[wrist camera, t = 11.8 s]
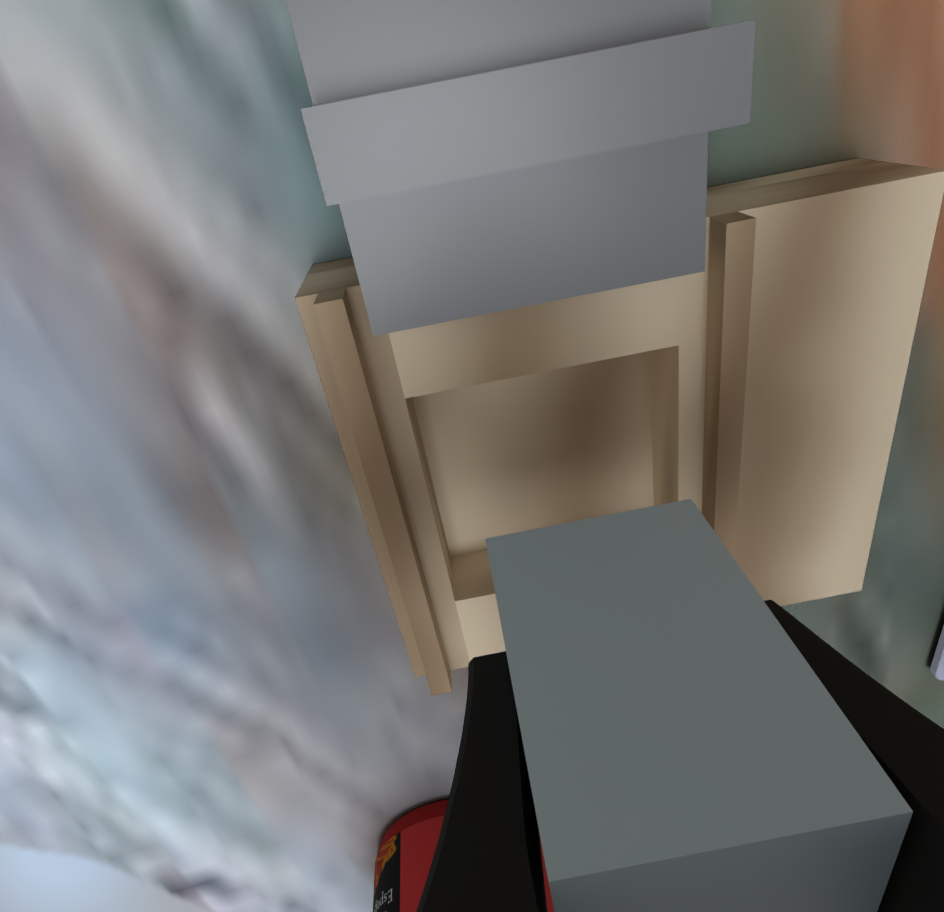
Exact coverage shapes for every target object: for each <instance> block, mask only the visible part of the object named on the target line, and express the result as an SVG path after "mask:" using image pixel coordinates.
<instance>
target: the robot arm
mask: <svg viewBox="0 0 944 912" xmlns="http://www.w3.org/2000/svg"><path fill="white" fill-rule="evenodd" d="M764 602H765V604H766V605H767V606H768V608H769V609H770V611H771V612H772V613H773V615H774V616H775V618H776V619H777V620H778V622H779V623H780V625H781V626H782V627H783V629H784V630H785V632H786V633H787V635H788V636H789V637H790V639H791V640H792V642H793V643H794V644H795V646H796V647H797V649H798V650H799V651H800V653H801V654H802V656H803V657H804V658H805V660H806V661H807V663H808V664H809V666H810V667H811V668H812V670H813V671H814V673H815V674H816V675H817V677H818V678H819V680H820V681H821V682H822V684H823V685H824V687H825V688H826V689H827V691H828V692H829V694H830V695H831V697H832V698H833V699H834V701H835V702H836V704H837V705H838V706H839V708H840V709H841V711H842V712H843V713H844V715H845V716H846V718H847V719H848V721H849V722H850V723H851V725H852V726H853V728H854V729H855V730H856V732H857V733H858V735H859V736H860V737H861V739H862V740H863V742H864V743H865V744H866V746H867V747H868V749H869V750H870V752H871V753H872V754H873V756H874V757H875V759H876V760H877V761H878V763H879V764H880V766H881V767H882V768H883V770H884V771H885V773H886V774H887V775H888V777H889V778H890V780H891V781H892V783H893V784H894V785H895V787H896V788H897V790H898V791H899V792H900V794H901V795H902V797H903V798H904V799H905V801H906V802H907V804H908V805H909V806H910V808H911V809H912V811H913V814H912V816H911V819H910V822H909V825H908V828H907V830H906V833H905V836H904V839H903V841H902V844H901V847H900V850H899V853H898V855H897V858H896V861H895V864H894V866H893V869H892V872H891V875H890V878H889V880H888V883H887V886H886V889H885V892H884V894H883V897H882V900H881V903H880V905H879V908H878V911H877V912H944V729H943V728H941V727H940V726H939V725H937V724H936V723H934V722H933V721H931V720H930V719H928V718H927V717H925V716H924V715H923V714H921V713H920V712H918V711H917V710H916V709H914V708H913V707H911V706H910V705H908V704H907V703H906V702H904V701H903V700H902V699H900V698H899V697H897V696H896V695H895V694H893V693H892V692H891V691H889V690H888V689H887V688H885V687H884V686H883V685H881V684H880V683H878V682H877V681H876V680H874V679H873V678H872V677H870V676H869V675H868V674H866V673H865V672H864V671H862V670H861V669H860V668H858V667H857V666H856V665H854V664H853V663H852V662H850V661H849V660H848V659H846V658H845V657H844V656H843V655H841V654H840V653H839V652H838V651H836V650H835V649H834V648H832V647H831V646H830V645H829V644H827V643H826V642H825V641H823V640H822V639H821V638H820V637H818V636H817V635H816V634H815V633H813V632H812V631H811V630H810V629H808V628H807V627H806V626H805V625H803V624H802V623H801V622H800V621H798V620H797V619H796V618H795V617H793V616H792V615H791V614H789V613H788V612H787V611H786V610H784V609H783V608H782V607H781V606H779V605H778V604H777V603H775V602H774V601H773V600H766V601H764ZM468 670H469V676H468V693H467V703H466V711H465V718H464V725H463V732H462V738H461V743H460V748H459V753H458V758H457V763H456V769H455V774H454V779H453V783H452V788H451V792H450V796H449V800H448V804H447V808H446V812H445V815H444V819H443V823H442V827H441V831H440V835H439V839H438V843H437V846H436V850H435V853H434V857H433V860H432V863H431V867H430V870H429V873H428V877H427V880H426V883H425V886H424V889H423V892H422V895H421V898H420V902H419V905H418V908H417V911H416V912H547V903H546V893H545V884H544V874H543V864H542V855H541V845H540V836H539V828H538V822H537V817H536V811H535V806H534V801H533V795H532V790H531V784H530V779H529V774H528V768H527V763H526V757H525V752H524V746H523V741H522V736H521V730H520V725H519V719H518V714H517V709H516V703H515V698H514V692H513V687H512V681H511V676H510V671H509V665H508V660H507V654H506V651H504V652H499V653H493V654H488V655H483V656H478V657H474V658H473V659H472V660H471V661H470V662H469V663H468ZM930 672H931V673H932V674H933V675H934V676H935V677H936V678H937V679H939V680H944V625H943V628H942V632H941V635H940V638H939V641H938V645H937V648H936V651H935V654H934V658H933V661H932V664H931V667H930Z"/></svg>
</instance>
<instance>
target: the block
mask: <svg viewBox="0 0 944 912" xmlns="http://www.w3.org/2000/svg"><path fill="white" fill-rule="evenodd" d="M485 541H486V546H487V551H488V557H489V562H490V568H491V573H492V578H493V584H494V589H495V595H496V600H497V606H498V611H499V616H500V622H501V627H502V633H503V638H504V643H505V649H506V654H507V660H508V665H509V671H510V676H511V681H512V687H513V692H514V698H515V703H516V709H517V714H518V719H519V725H520V730H521V736H522V741H523V746H524V752H525V757H526V763H527V768H528V774H529V779H530V784H531V790H532V795H533V801H534V806H535V811H536V817H537V822H538V828H539V833H540V839H541V844H542V849H543V855H544V860H545V866H546V871H547V876H548V882H549V887H550V892H551V896H552V901H553V906H554V911H555V912H877V911H878V908H879V905H880V903H881V900H882V897H883V894H884V892H885V889H886V886H887V883H888V880H889V878H890V875H891V872H892V869H893V866H894V864H895V861H896V858H897V855H898V853H899V850H900V847H901V844H902V841H903V839H904V836H905V833H906V830H907V828H908V825H909V822H910V819H911V816H912V814H913V811H912V809H911V808H910V806H909V805H908V804H907V802H906V801H905V799H904V798H903V797H902V795H901V794H900V792H899V791H898V790H897V788H896V787H895V785H894V784H893V783H892V781H891V780H890V778H889V777H888V775H887V774H886V773H885V771H884V770H883V768H882V767H881V766H880V764H879V763H878V761H877V760H876V759H875V757H874V756H873V754H872V753H871V752H870V750H869V749H868V747H867V746H866V744H865V743H864V742H863V740H862V739H861V737H860V736H859V735H858V733H857V732H856V730H855V729H854V728H853V726H852V725H851V723H850V722H849V721H848V719H847V718H846V716H845V715H844V713H843V712H842V711H841V709H840V708H839V706H838V705H837V704H836V702H835V701H834V699H833V698H832V697H831V695H830V694H829V692H828V691H827V689H826V688H825V687H824V685H823V684H822V682H821V681H820V680H819V678H818V677H817V675H816V674H815V673H814V671H813V670H812V668H811V667H810V666H809V664H808V663H807V661H806V660H805V658H804V657H803V656H802V654H801V653H800V651H799V650H798V649H797V647H796V646H795V644H794V643H793V642H792V640H791V639H790V637H789V636H788V635H787V633H786V632H785V630H784V629H783V627H782V626H781V625H780V623H779V622H778V620H777V619H776V618H775V616H774V615H773V613H772V612H771V611H770V609H769V608H768V606H767V605H766V604H765V602H764V601H763V599H762V598H761V596H760V595H759V594H758V592H757V591H756V589H755V588H754V587H753V585H752V584H751V582H750V581H749V580H748V578H747V577H746V575H745V574H744V572H743V571H742V570H741V568H740V567H739V565H738V564H737V563H736V561H735V560H734V558H733V557H732V556H731V554H730V553H729V551H728V550H727V549H726V547H725V546H724V544H723V543H722V541H721V540H720V539H719V537H718V536H717V534H716V533H715V532H714V530H713V529H712V527H711V526H710V525H709V523H708V522H707V520H706V519H705V518H704V516H703V515H702V513H701V512H700V510H699V509H698V508H697V506H696V505H695V503H694V502H693V501H692V499H687V500H682V501H677V502H672V503H667V504H662V505H656V506H651V507H646V508H641V509H636V510H631V511H626V512H620V513H615V514H610V515H605V516H600V517H595V518H589V519H584V520H579V521H574V522H569V523H564V524H559V525H553V526H548V527H543V528H538V529H533V530H528V531H523V532H517V533H512V534H507V535H502V536H497V537H492V538H486V539H485Z"/></svg>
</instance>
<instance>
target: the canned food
mask: <svg viewBox="0 0 944 912" xmlns="http://www.w3.org/2000/svg"><path fill="white" fill-rule="evenodd" d="M448 800H449V799H446V800H441V801H436V802H433V803H430V804H427V805H424V806H421V807H419V808H417V809H415V810H413V811H410V812H409V813H407V814H406V815H404V816H403V817H401V818H400V819H398V820H397V821H396V822H395V823H394V824H393V825H392V826H391V827H390V828H389V829H388V830H387V832H386V833H385V835H384V837H383V839H382V842H381V845H380V848H379V851H378V854H377V858H376V862H375V876H374V900H373V912H416V911H417V908H418V905H419V902H420V898H421V895H422V892H423V889H424V886H425V883H426V880H427V877H428V873H429V870H430V867H431V863H432V860H433V857H434V853H435V850H436V846H437V843H438V839H439V835H440V831H441V827H442V823H443V819H444V815H445V812H446V808H447V804H448ZM539 836H540V833H539ZM540 845H541V855H542V864H543V874H544V884H545V893H546V903H547V912H555V911H554V906H553V901H552V896H551V892H550V887H549V882H548V876H547V871H546V866H545V860H544V855H543V849H542V844H541V839H540Z"/></svg>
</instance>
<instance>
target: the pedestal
mask: <svg viewBox="0 0 944 912" xmlns="http://www.w3.org/2000/svg"><path fill="white" fill-rule="evenodd" d="M943 193H944V170H942V169H934V168H927V167H920V166H912V165H905V164H898V163H890V162H883V161H876V160H868V159H861V158H856V159H851V160H846V161H841V162H836V163H831V164H826V165H821V166H815V167H810V168H805V169H800V170H795V171H790V172H785V173H780V174H774V175H769V176H764V177H759V178H754V179H749V180H744V181H739V182H734V183H728V184H723V185H718V186H713V187H708V188H707V204H706V245H705V271H704V272H699V273H694V274H689V275H684V276H679V277H674V278H669V279H663V280H658V281H653V282H648V283H643V284H638V285H633V286H628V287H622V288H617V289H612V290H607V291H602V292H597V293H592V294H587V295H581V296H576V297H571V298H566V299H561V300H556V301H551V302H546V303H540V304H535V305H530V306H525V307H520V308H515V309H510V310H505V311H499V312H494V313H489V314H484V315H479V316H474V317H469V318H464V319H458V320H453V321H448V322H443V323H438V324H433V325H428V326H423V327H417V328H412V329H407V330H402V331H397V332H392V333H387V334H382V335H376V336H373V333H372V329H371V325H370V321H369V318H368V314H367V310H366V306H365V302H364V298H363V295H362V291H361V287H360V283H359V279H358V275H357V272H356V268H355V264H354V260H353V257H350V258H345V259H340V260H334V261H329V262H324V263H319V264H314V265H312V267H311V269H310V270H309V272H308V274H307V276H306V278H305V280H304V281H303V283H302V285H301V287H300V289H299V291H298V293H297V294H296V296H295V301H296V304H297V307H298V310H299V314H300V317H301V320H302V323H303V326H304V329H305V332H306V336H307V339H308V342H309V345H310V348H311V351H312V354H313V358H314V361H315V364H316V367H317V370H318V373H319V376H320V379H321V383H322V386H323V389H324V392H325V395H326V398H327V401H328V405H329V408H330V411H331V414H332V417H333V420H334V423H335V427H336V430H337V433H338V436H339V439H340V442H341V445H342V448H343V452H344V455H345V458H346V461H347V464H348V467H349V470H350V474H351V477H352V480H353V483H354V486H355V489H356V492H357V496H358V499H359V502H360V505H361V508H362V511H363V514H364V518H365V521H366V524H367V527H368V530H369V533H370V536H371V539H372V543H373V546H374V549H375V552H376V555H377V558H378V561H379V565H380V568H381V571H382V574H383V577H384V580H385V583H386V587H387V590H388V593H389V596H390V599H391V602H392V605H393V609H394V612H395V615H396V618H397V621H398V624H399V627H400V630H401V634H402V637H403V640H404V643H405V646H406V649H407V652H408V656H409V659H410V662H411V665H412V668H413V671H414V674H415V677H418V676H423V675H426V677H427V680H428V683H429V686H430V690H431V693H432V695H437V694H442V693H448V692H452V685H451V672H450V670H454V669H459V668H464V667H468V663H469V662H470V661H471V660H472V659H473V658H474V657H478V656H483V655H488V654H493V653H499V652H504V651H506V649H505V643H504V638H503V633H502V627H501V622H500V616H499V611H498V606H497V600H496V595H495V589H494V584H493V578H492V573H491V568H490V562H489V557H488V551H487V546H486V541H485V539H486V538H492V537H497V536H502V535H507V534H512V533H517V532H523V531H528V530H533V529H538V528H543V527H548V526H553V525H559V524H564V523H569V522H574V521H579V520H584V519H589V518H595V517H600V516H605V515H610V514H615V513H620V512H626V511H631V510H636V509H641V508H646V507H651V506H656V505H662V504H667V503H672V502H677V501H682V500H687V499H692V501H693V502H694V503H695V505H696V506H697V508H698V509H699V510H700V512H701V513H702V515H703V516H704V518H705V519H706V520H707V522H708V523H709V525H710V526H711V527H712V529H713V530H714V532H715V533H716V534H717V536H718V537H719V539H720V540H721V541H722V543H723V544H724V546H725V547H726V549H727V550H728V551H729V553H730V554H731V556H732V557H733V558H734V560H735V561H736V563H737V564H738V565H739V567H740V568H741V570H742V571H743V572H744V574H745V575H746V577H747V578H748V580H749V581H750V582H751V584H752V585H753V587H754V588H755V589H756V591H757V592H758V594H759V595H760V596H761V598H762V599H763V601H766V600H773V601H774V602H775V603H777V604H778V605H779V606H784V605H789V604H795V603H800V602H805V601H810V600H815V599H820V598H826V597H831V596H836V595H841V594H846V593H851V592H857V591H861V590H862V585H863V580H864V575H865V570H866V566H867V561H868V556H869V551H870V546H871V541H872V536H873V532H874V527H875V522H876V517H877V512H878V507H879V503H880V498H881V493H882V488H883V483H884V478H885V474H886V469H887V464H888V459H889V454H890V449H891V445H892V440H893V435H894V430H895V425H896V420H897V415H898V411H899V406H900V401H901V396H902V391H903V386H904V382H905V377H906V372H907V367H908V362H909V357H910V353H911V348H912V343H913V338H914V333H915V328H916V324H917V319H918V314H919V309H920V304H921V299H922V294H923V290H924V285H925V280H926V275H927V270H928V265H929V261H930V256H931V251H932V246H933V241H934V236H935V232H936V227H937V222H938V217H939V212H940V207H941V203H942V198H943Z"/></svg>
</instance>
